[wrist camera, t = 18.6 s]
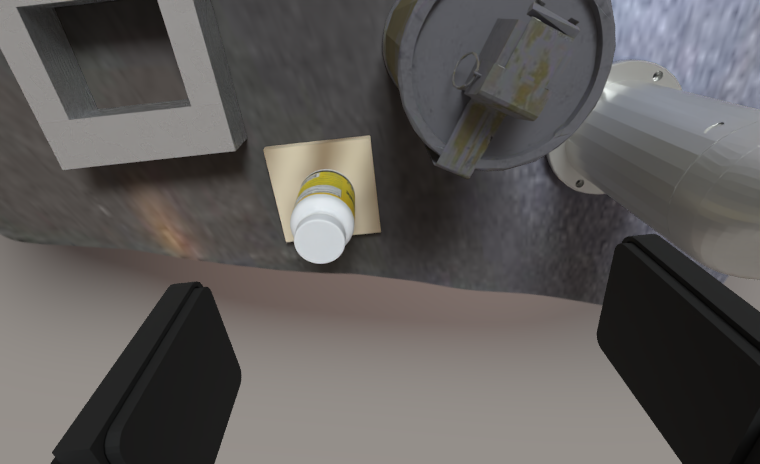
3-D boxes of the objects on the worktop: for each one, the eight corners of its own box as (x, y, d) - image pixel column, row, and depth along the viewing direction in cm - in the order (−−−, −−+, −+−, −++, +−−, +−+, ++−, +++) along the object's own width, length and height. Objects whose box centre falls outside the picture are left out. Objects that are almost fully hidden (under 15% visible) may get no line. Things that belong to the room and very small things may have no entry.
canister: (414, -54, 31) (482, -140, 13) (527, 7, 33) (709, 2, 16) (361, 82, 36) (361, 150, 18) (463, 127, 38) (549, 227, 20)
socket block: (191, -73, 30) (169, -84, 26) (247, 138, 38) (235, 151, 34) (-5, -50, 30) (-54, -58, 27) (90, 155, 38) (62, 169, 34)
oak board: (370, 135, 38) (370, 138, 37) (380, 227, 43) (380, 232, 42) (265, 146, 38) (263, 149, 37) (287, 237, 43) (286, 242, 42)
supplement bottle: (351, 221, 41) (348, 276, 33) (298, 213, 40) (281, 267, 32) (359, 171, 39) (358, 217, 30) (302, 163, 38) (285, 206, 29)
